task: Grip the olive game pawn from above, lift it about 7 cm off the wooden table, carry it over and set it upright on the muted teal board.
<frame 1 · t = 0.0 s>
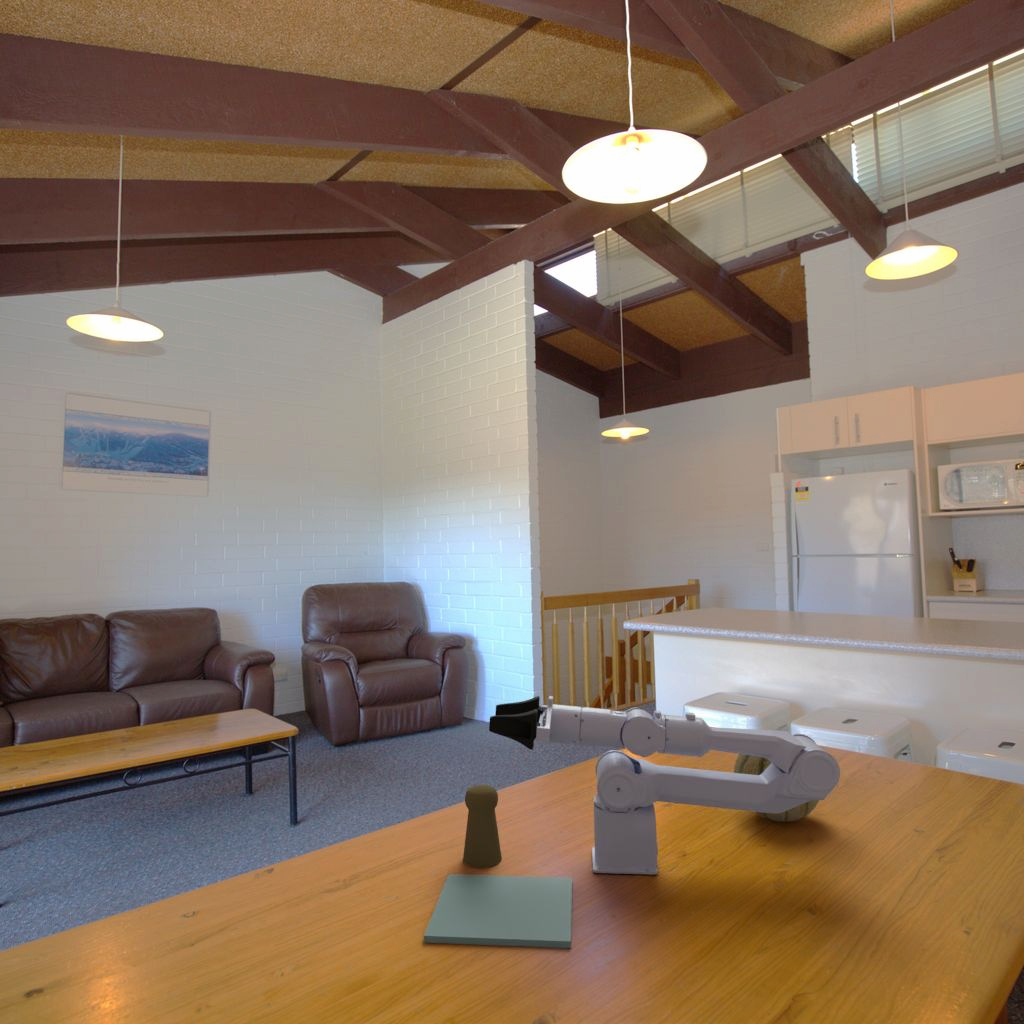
hand: (492, 717, 108), 22 cm above the table, tool horizontal, fingers open, 7 cm apart
teal board: (503, 910, 92), on the table
olive game pawn: (482, 860, 107), on the table
cantaloupe: (779, 819, 121), on the table
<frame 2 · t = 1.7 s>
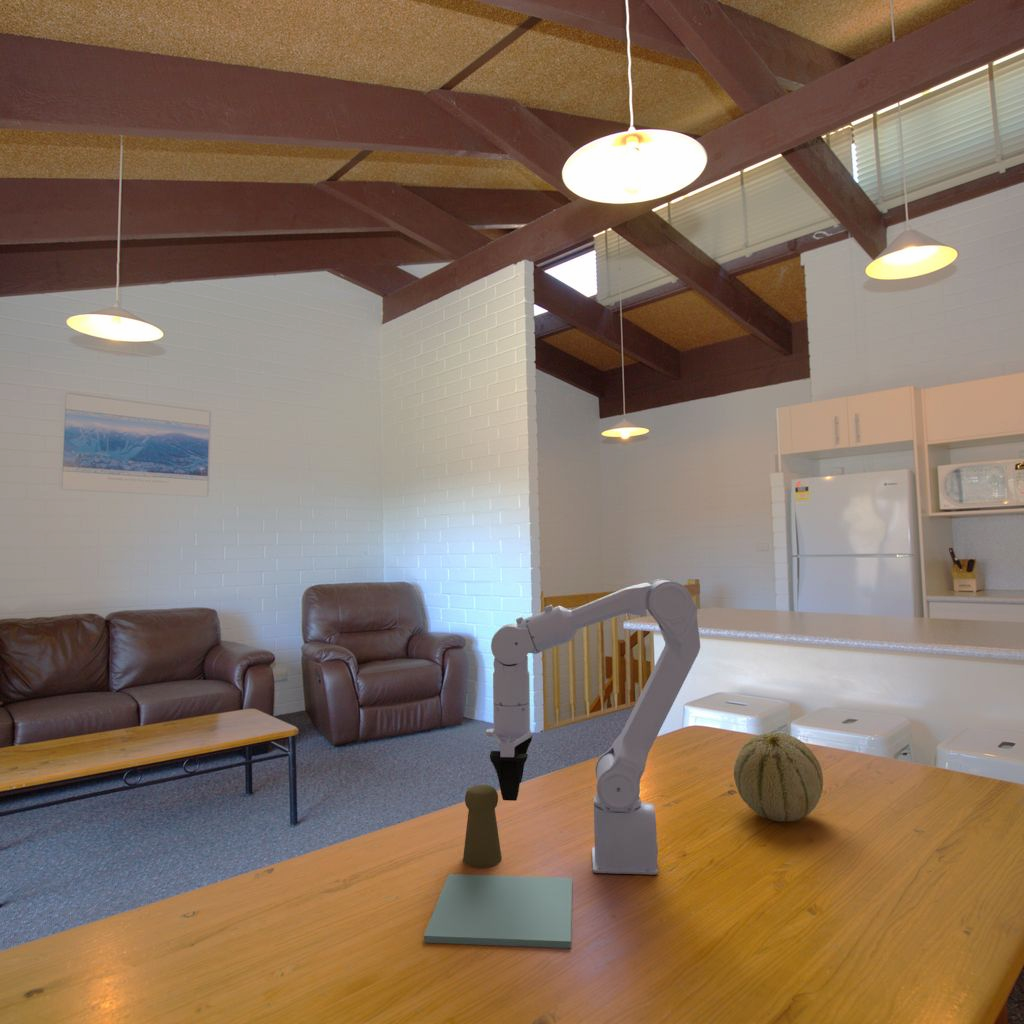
hand: (512, 790, 107), 10 cm above the table, tool pointing down, fingers open, 7 cm apart
nothing on the table moved.
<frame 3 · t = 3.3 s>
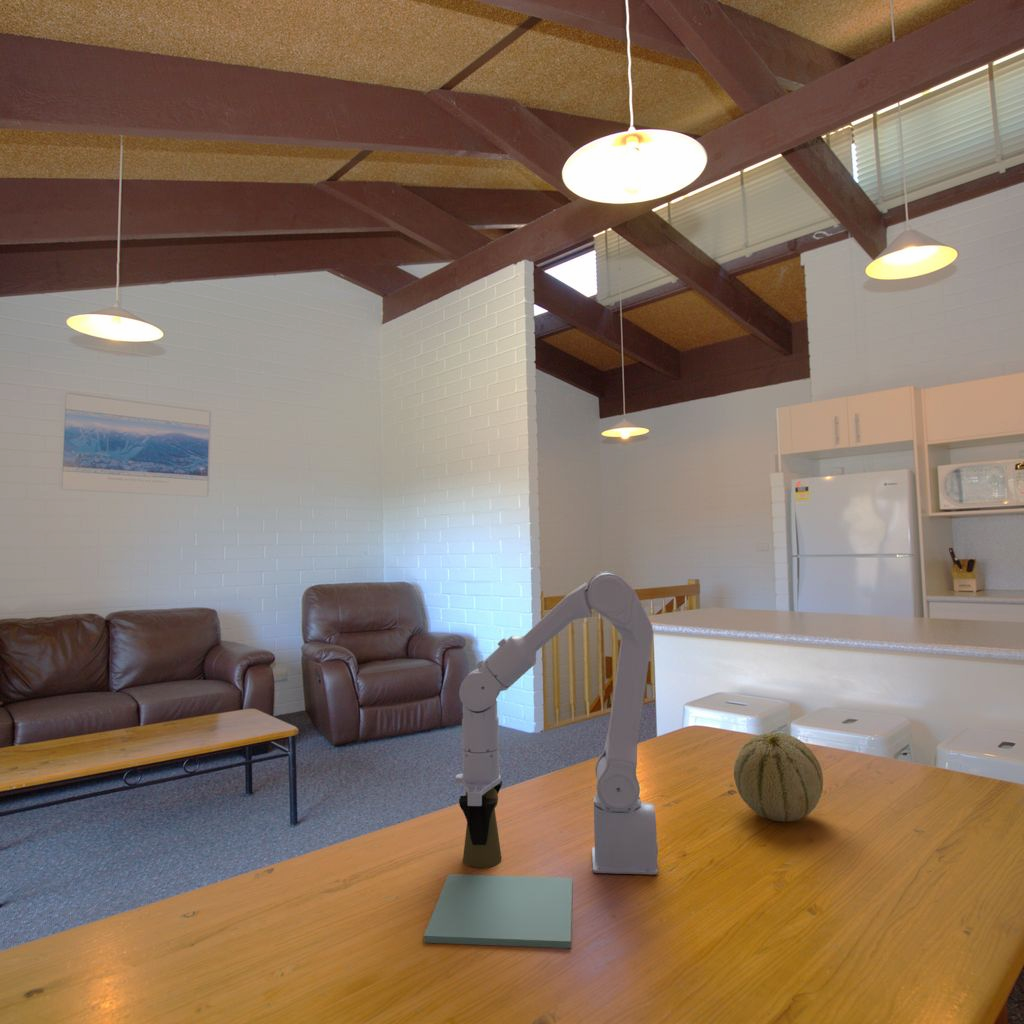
hand: (481, 836, 107), 3 cm above the table, tool pointing down, fingers closed on olive game pawn, 5 cm apart
olive game pawn: (482, 860, 107), on the table, touching gripper
everything else where it was.
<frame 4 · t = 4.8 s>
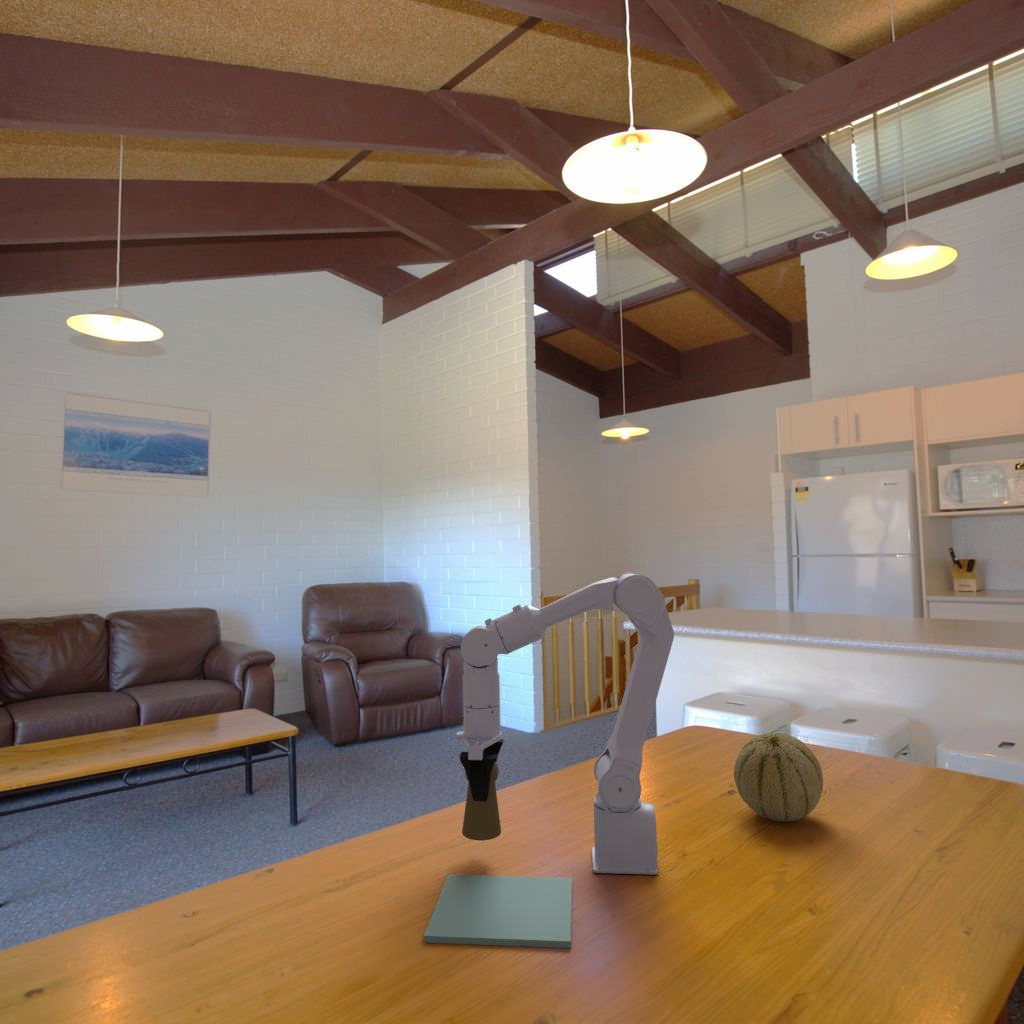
hand: (483, 793, 107), 10 cm above the table, tool pointing down, fingers closed on olive game pawn, 5 cm apart
olive game pawn: (481, 833, 106), point 4 cm above the table, touching gripper
everything else where it was.
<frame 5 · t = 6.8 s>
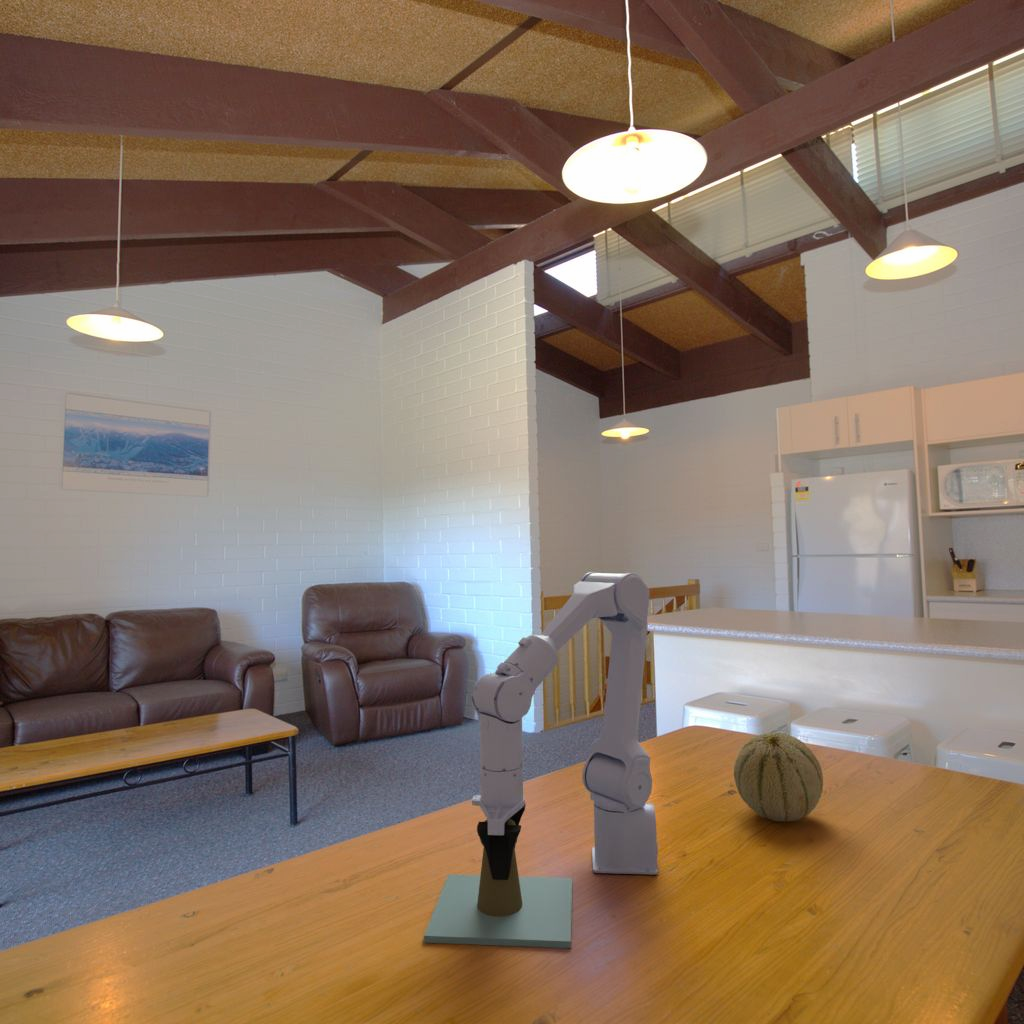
hand: (502, 868, 92), 5 cm above the table, tool pointing down, fingers closed on olive game pawn, 5 cm apart
olive game pawn: (499, 906, 92), point 1 cm above the table, touching gripper, teal board
everything else where it was.
when the fingers open (5 cm above the table, at t = 7.4 s): olive game pawn stays where it is, resting on teal board.
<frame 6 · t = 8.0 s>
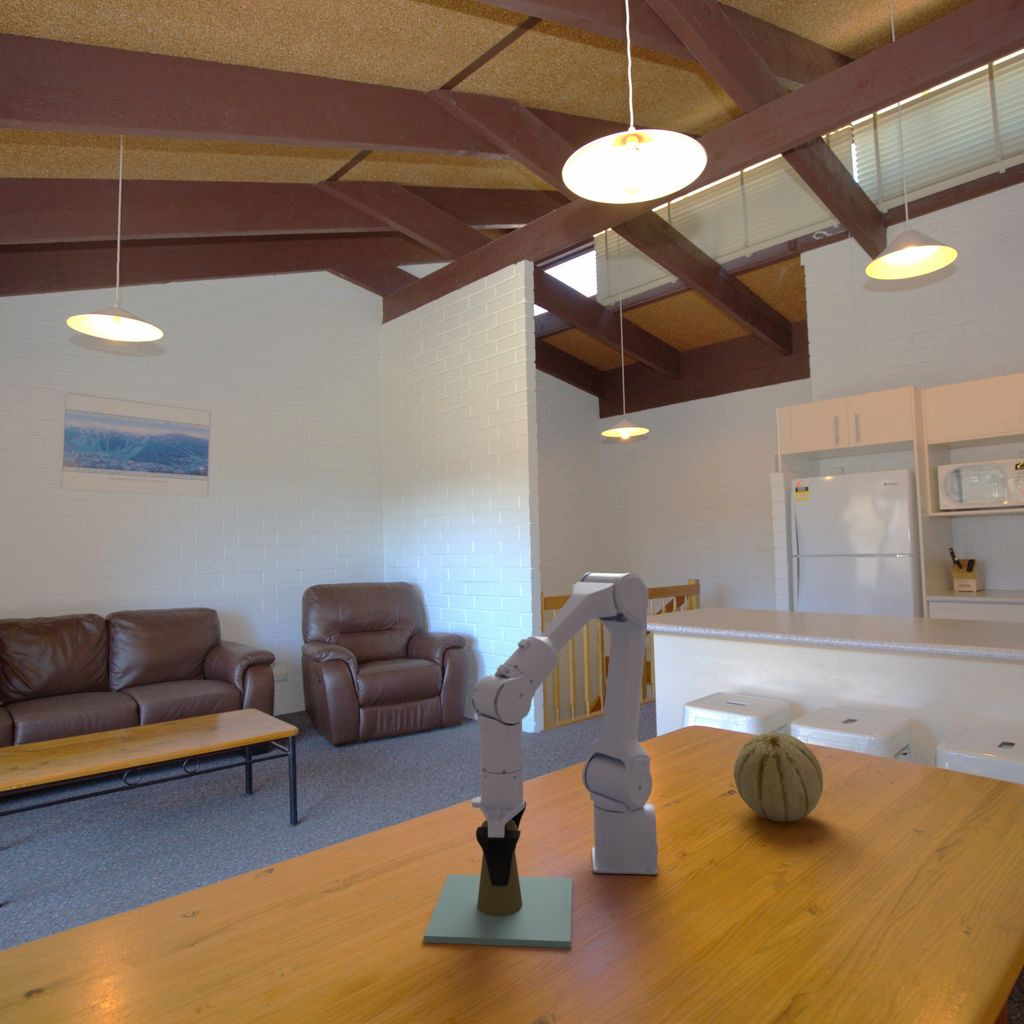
hand: (503, 870, 92), 5 cm above the table, tool pointing down, fingers open, 7 cm apart
olive game pawn: (499, 906, 92), point 1 cm above the table, touching teal board
everything else where it was.
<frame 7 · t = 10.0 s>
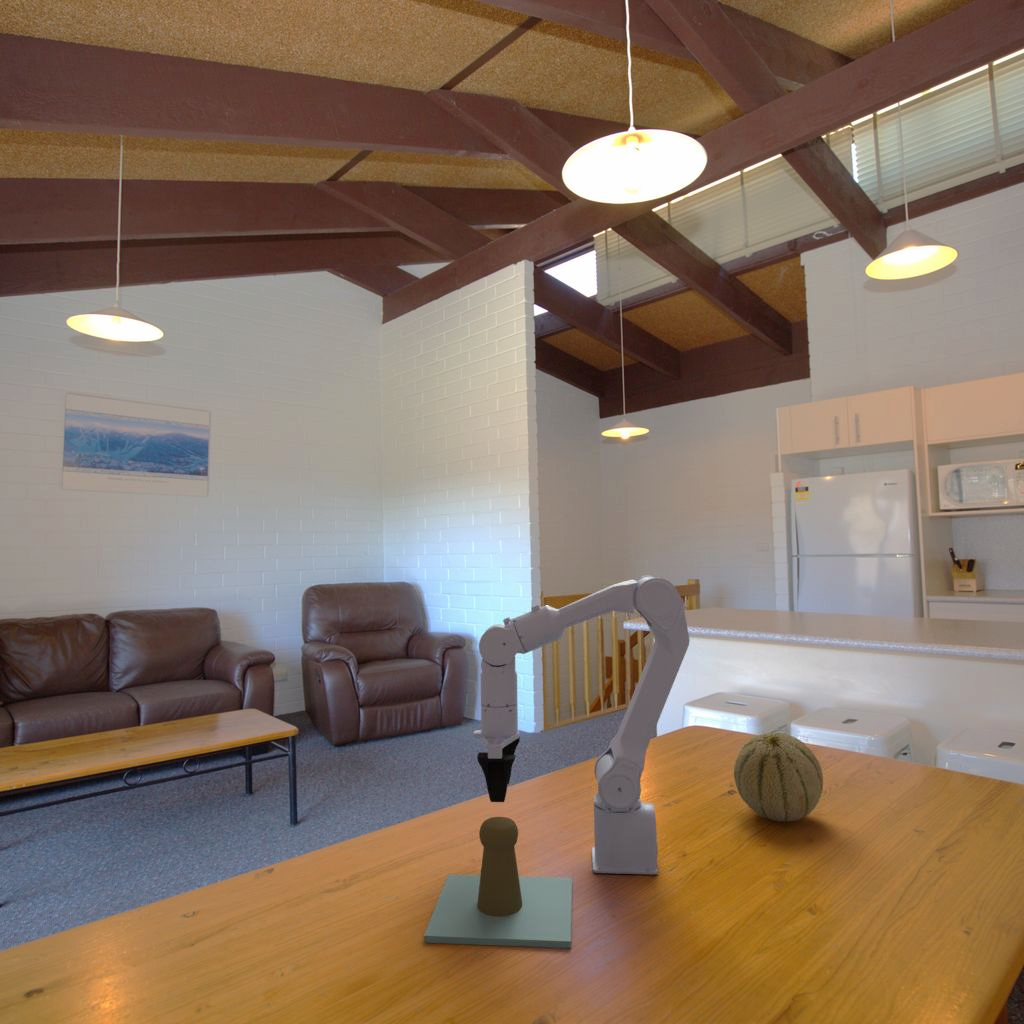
hand: (500, 792, 107), 10 cm above the table, tool pointing down, fingers open, 7 cm apart
nothing on the table moved.
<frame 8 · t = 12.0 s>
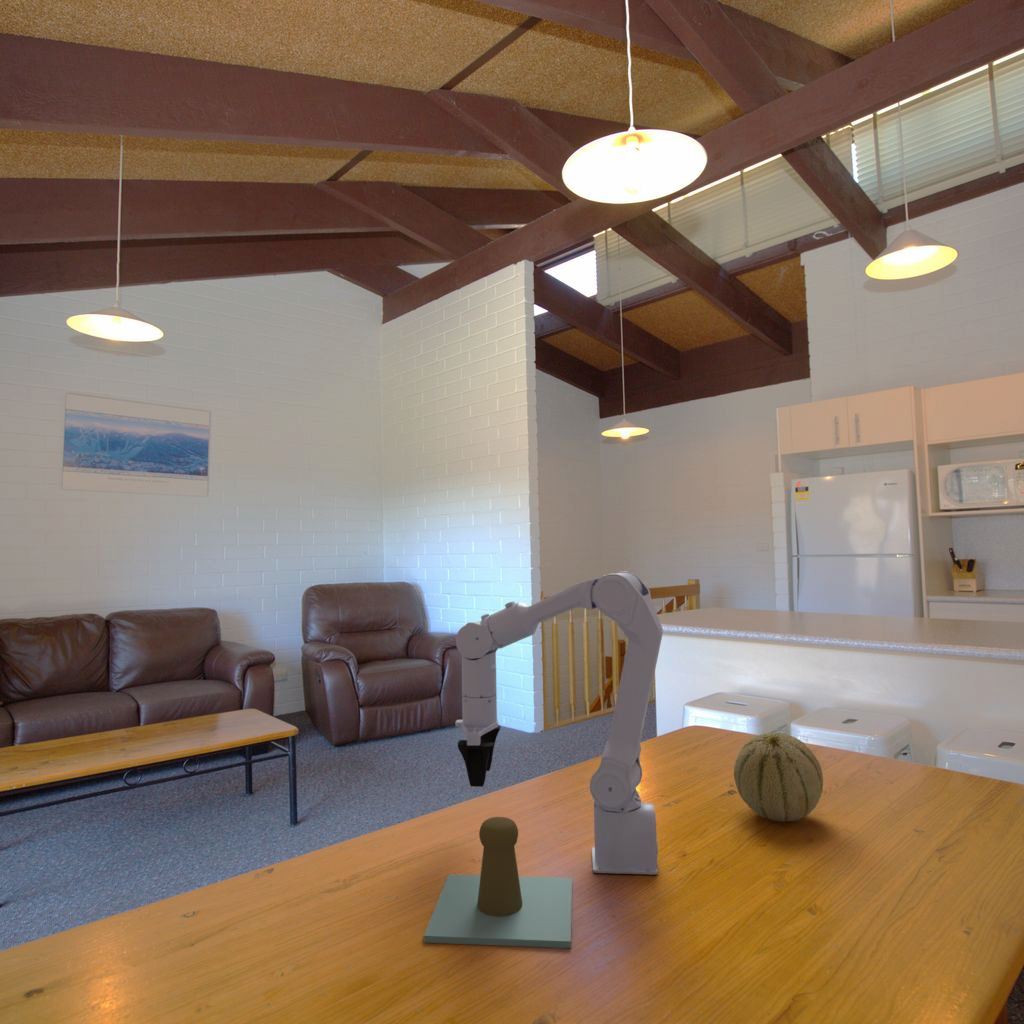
hand: (480, 777, 114), 10 cm above the table, tool pointing down, fingers open, 7 cm apart
nothing on the table moved.
at the end: olive game pawn inside the target area on the teal board (0.5 cm from its centre), point 0.6 cm above the teal board's base; olive game pawn tilted 0°; the gripper is holding nothing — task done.
